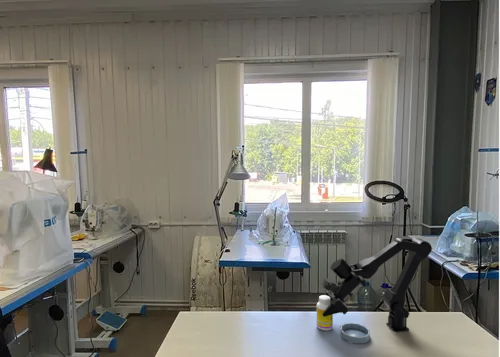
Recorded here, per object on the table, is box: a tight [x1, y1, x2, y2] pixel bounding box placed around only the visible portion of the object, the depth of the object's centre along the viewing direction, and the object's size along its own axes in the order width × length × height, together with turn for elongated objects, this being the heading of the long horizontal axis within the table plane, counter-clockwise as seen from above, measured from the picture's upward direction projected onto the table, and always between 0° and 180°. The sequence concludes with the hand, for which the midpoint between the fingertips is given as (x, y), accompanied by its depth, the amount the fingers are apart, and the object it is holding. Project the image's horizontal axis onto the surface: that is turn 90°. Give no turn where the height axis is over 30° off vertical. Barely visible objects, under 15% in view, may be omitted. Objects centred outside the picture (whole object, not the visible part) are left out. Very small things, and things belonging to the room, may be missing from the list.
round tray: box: [339, 322, 371, 345], centre depth 131 cm, size 11×11×2 cm
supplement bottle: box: [316, 294, 334, 331], centre depth 137 cm, size 7×7×13 cm
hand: (321, 311), depth 137 cm, fingers closed on supplement bottle, 7 cm apart
